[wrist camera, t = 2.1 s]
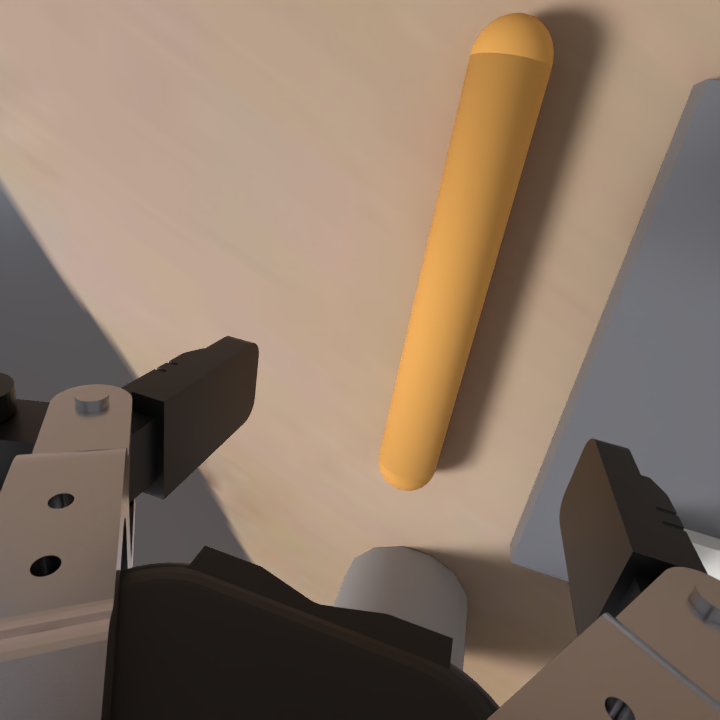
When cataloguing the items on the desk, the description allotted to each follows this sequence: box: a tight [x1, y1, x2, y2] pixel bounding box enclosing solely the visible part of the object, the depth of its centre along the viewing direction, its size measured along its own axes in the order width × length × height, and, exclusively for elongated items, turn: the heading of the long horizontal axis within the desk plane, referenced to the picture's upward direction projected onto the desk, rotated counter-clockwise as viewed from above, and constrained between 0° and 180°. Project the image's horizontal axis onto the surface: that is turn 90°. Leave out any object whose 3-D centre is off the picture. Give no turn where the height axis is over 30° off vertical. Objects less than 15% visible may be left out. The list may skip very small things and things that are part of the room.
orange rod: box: [379, 13, 554, 491], centre depth 23 cm, size 22×3×3 cm, turn 170°
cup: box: [333, 546, 467, 671], centre depth 28 cm, size 8×8×10 cm
